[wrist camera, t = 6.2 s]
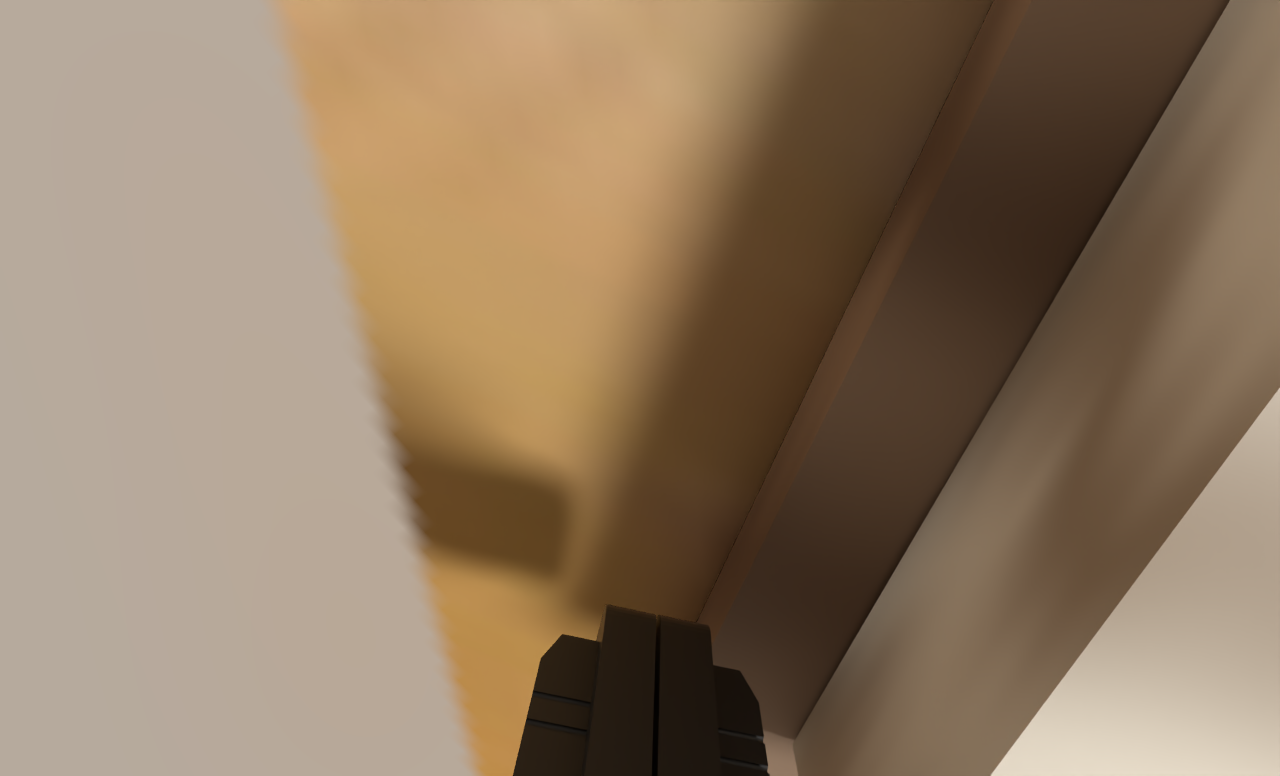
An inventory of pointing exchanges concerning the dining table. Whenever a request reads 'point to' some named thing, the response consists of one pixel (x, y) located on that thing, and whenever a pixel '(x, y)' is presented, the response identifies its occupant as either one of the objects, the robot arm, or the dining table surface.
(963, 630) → the folding leg
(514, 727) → the dining table surface
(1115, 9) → the stool base plate
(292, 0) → the dining table surface
